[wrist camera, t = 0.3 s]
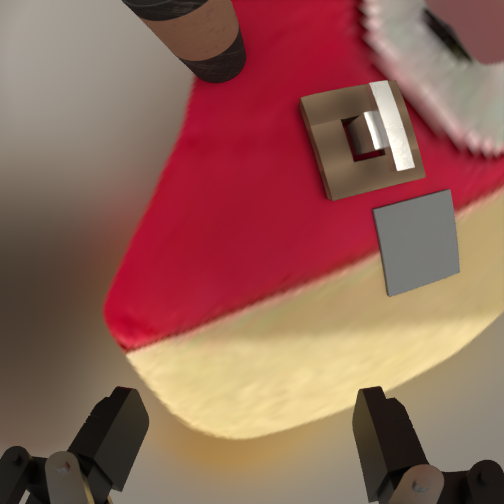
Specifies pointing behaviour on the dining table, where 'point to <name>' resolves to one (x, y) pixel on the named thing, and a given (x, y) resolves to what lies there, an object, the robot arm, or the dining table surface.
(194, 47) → the travel mug
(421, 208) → the grey mat
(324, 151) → the socket block
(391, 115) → the t key
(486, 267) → the dining table surface
